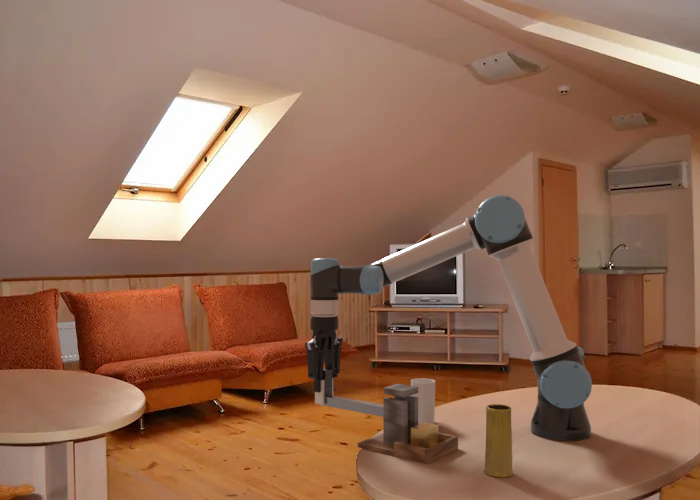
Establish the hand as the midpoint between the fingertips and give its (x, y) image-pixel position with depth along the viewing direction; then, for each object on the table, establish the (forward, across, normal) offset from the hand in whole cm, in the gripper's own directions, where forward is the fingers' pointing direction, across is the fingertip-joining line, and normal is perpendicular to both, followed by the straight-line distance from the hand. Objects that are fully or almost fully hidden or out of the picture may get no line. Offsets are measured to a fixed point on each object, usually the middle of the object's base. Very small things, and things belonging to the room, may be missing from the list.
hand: (324, 402), depth 171 cm
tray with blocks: (+7, 0, +27) cm, 27 cm away
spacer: (+4, 0, +29) cm, 29 cm away
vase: (+8, +3, +52) cm, 52 cm away
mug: (+7, -23, +18) cm, 30 cm away
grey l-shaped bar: (0, 0, +11) cm, 11 cm away
